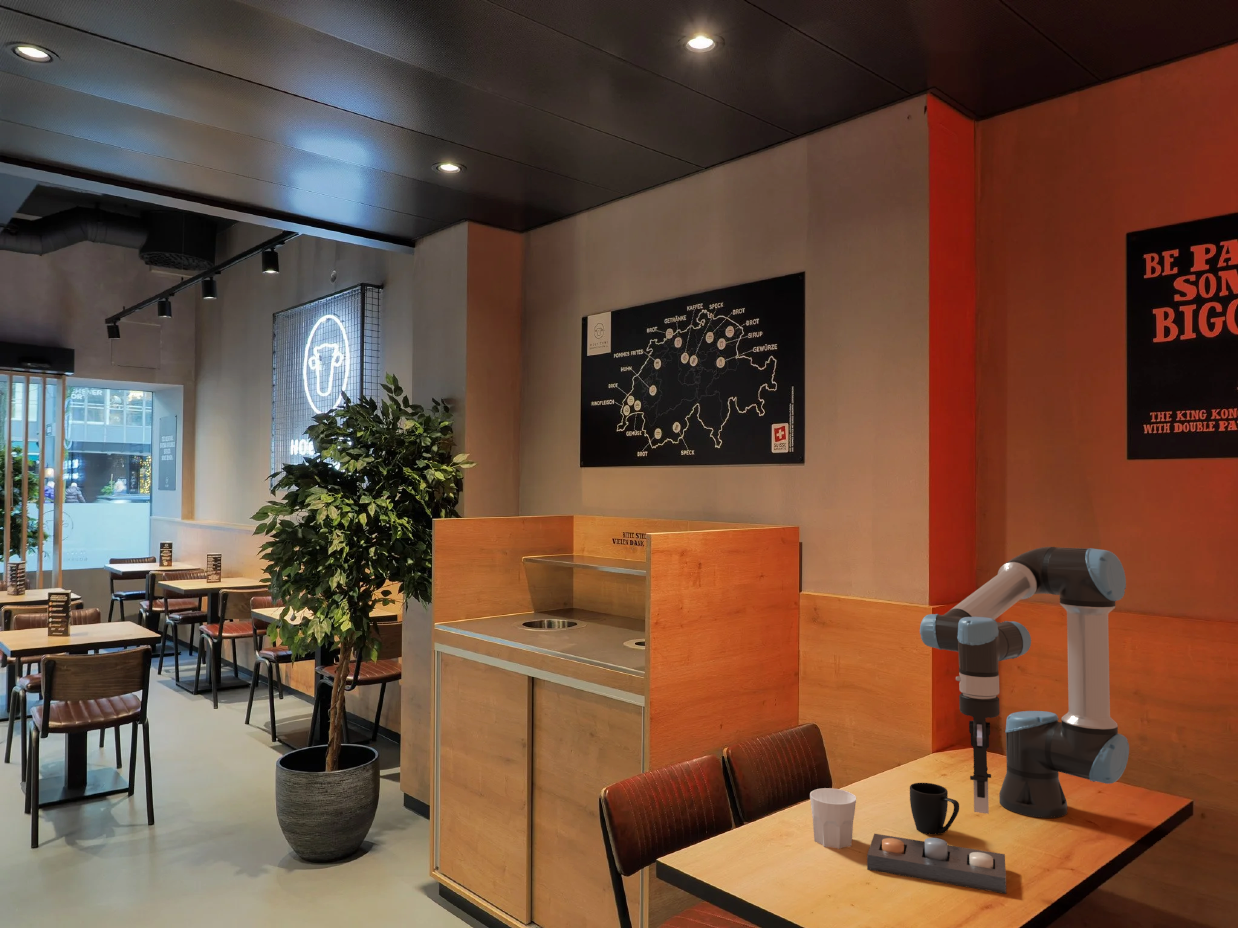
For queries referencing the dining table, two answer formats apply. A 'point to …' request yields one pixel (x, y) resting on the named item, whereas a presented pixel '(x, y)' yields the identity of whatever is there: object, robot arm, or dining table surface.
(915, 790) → the mug
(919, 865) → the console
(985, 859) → the button cream
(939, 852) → the button slate
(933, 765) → the dining table surface
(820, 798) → the cup
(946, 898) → the dining table surface
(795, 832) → the dining table surface
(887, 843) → the button orange
